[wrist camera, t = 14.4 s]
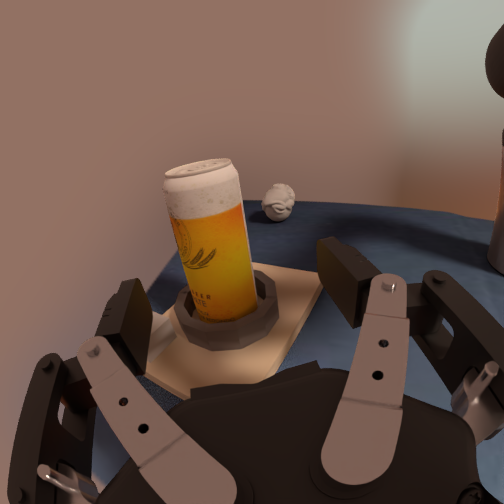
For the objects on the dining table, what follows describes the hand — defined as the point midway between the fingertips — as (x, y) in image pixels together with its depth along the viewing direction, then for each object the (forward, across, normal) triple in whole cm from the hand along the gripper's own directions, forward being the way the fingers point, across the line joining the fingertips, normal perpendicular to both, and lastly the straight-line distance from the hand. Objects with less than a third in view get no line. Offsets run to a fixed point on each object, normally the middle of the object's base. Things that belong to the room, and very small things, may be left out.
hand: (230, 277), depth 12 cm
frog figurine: (+38, -12, +14) cm, 42 cm away
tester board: (+12, +1, +13) cm, 18 cm away
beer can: (+11, +1, +12) cm, 17 cm away
